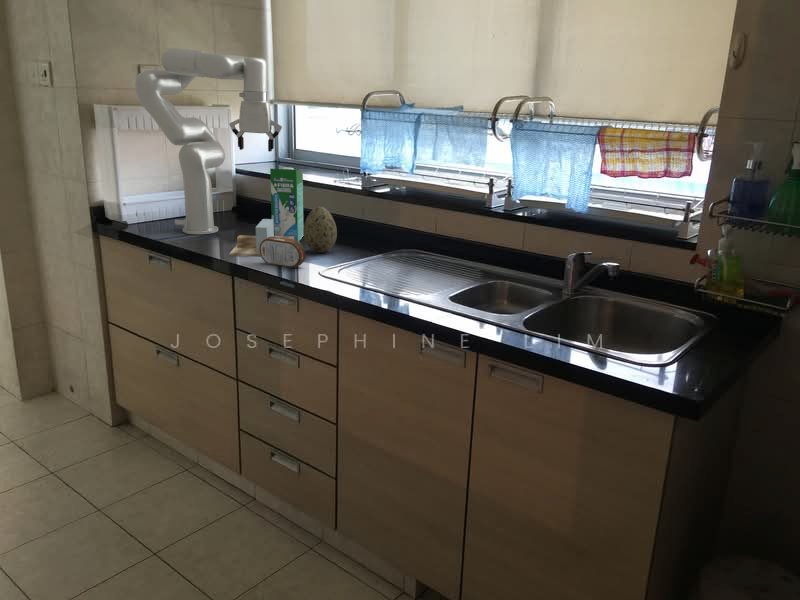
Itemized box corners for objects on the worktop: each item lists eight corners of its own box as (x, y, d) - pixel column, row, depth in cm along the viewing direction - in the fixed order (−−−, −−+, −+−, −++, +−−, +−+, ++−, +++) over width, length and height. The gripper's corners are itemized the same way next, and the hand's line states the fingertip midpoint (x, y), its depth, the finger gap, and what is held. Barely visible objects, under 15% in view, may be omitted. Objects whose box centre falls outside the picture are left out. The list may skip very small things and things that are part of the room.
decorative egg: (307, 247, 229) (307, 203, 224) (339, 249, 228) (339, 204, 224) (300, 255, 219) (299, 208, 214) (333, 256, 218) (333, 210, 213)
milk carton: (303, 236, 245) (302, 166, 238) (297, 242, 236) (296, 169, 229) (279, 235, 246) (277, 165, 238) (272, 240, 237) (270, 168, 230)
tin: (306, 267, 204) (305, 240, 202) (300, 270, 202) (299, 242, 199) (264, 261, 210) (263, 234, 208) (258, 263, 208) (257, 236, 205)
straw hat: (229, 255, 216) (229, 242, 215) (240, 242, 233) (240, 230, 232) (293, 256, 216) (292, 243, 215) (299, 244, 234) (299, 232, 232)
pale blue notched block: (267, 252, 218) (266, 227, 216) (256, 252, 218) (255, 227, 215) (274, 242, 231) (273, 219, 229) (263, 242, 231) (262, 218, 229)
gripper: (226, 95, 220) (227, 149, 226) (279, 99, 220) (279, 153, 226) (232, 95, 227) (233, 147, 233) (283, 98, 227) (283, 150, 233)
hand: (255, 150), depth 229 cm, fingers open, 9 cm apart
